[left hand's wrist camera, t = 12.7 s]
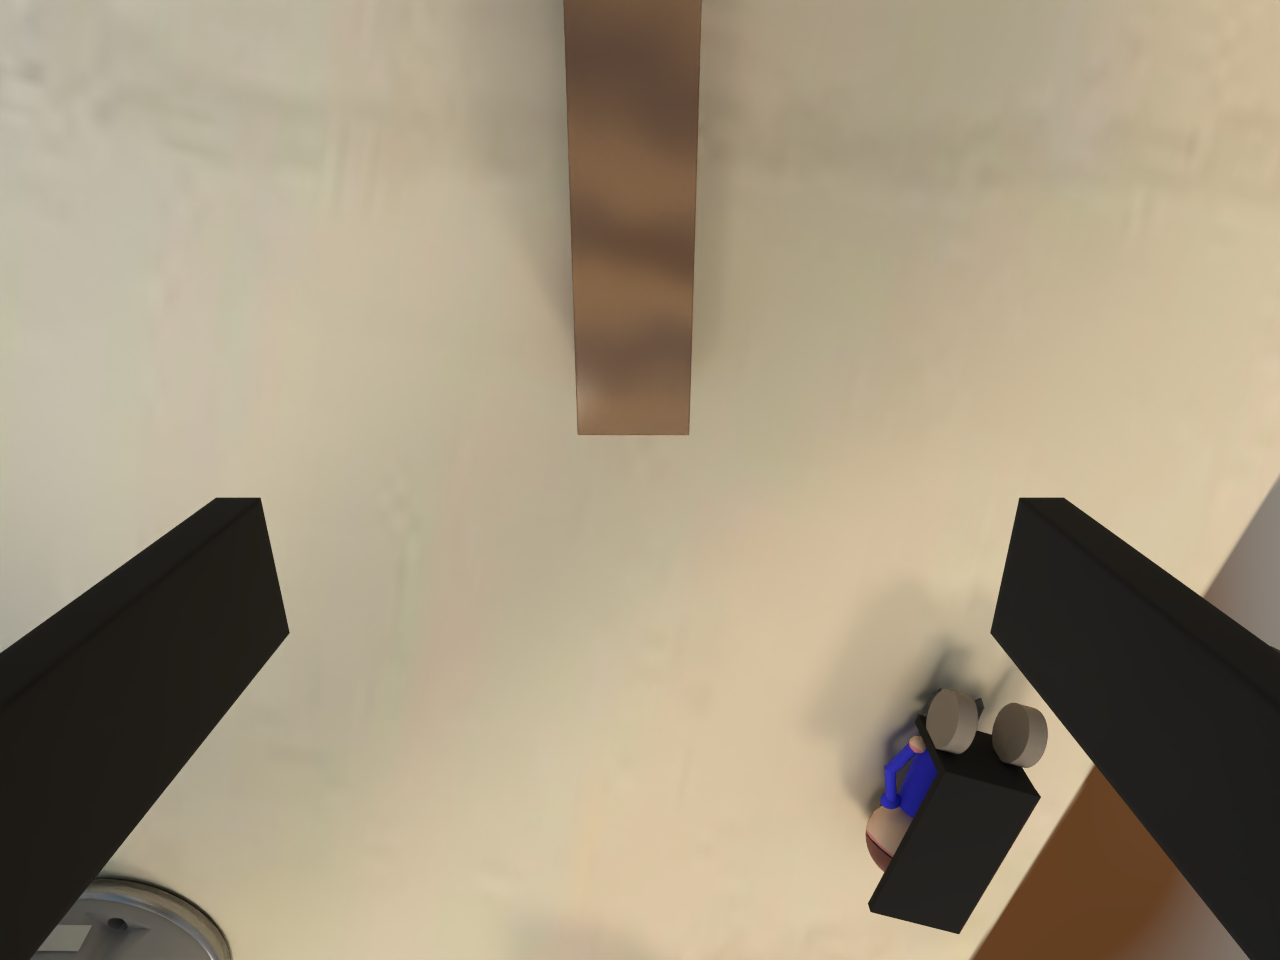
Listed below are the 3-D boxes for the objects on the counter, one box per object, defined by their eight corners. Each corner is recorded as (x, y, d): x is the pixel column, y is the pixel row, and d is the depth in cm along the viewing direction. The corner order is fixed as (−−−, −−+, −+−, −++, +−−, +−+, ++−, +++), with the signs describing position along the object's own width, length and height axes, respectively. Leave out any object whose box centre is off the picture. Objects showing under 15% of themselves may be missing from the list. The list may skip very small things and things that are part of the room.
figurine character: (911, 648, 47) (834, 833, 51) (965, 715, 40) (871, 926, 43) (1004, 670, 48) (922, 851, 51) (1075, 741, 40) (973, 946, 44)
